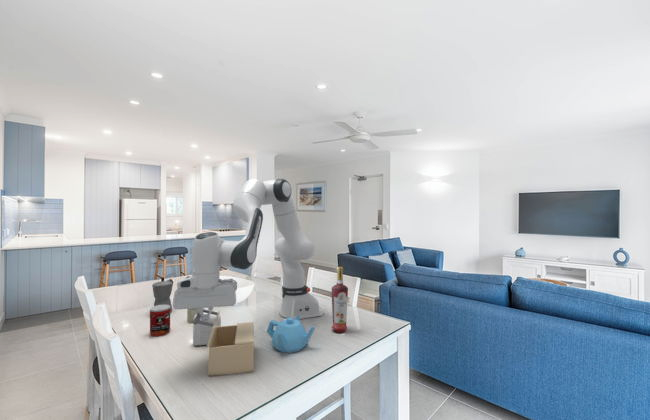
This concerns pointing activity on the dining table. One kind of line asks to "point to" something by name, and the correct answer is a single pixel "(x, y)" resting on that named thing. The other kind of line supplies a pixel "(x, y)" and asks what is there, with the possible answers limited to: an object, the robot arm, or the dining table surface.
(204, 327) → the photo printer
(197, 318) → the far flap
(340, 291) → the liquor
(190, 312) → the skincare box
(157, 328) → the canned food
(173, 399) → the dining table surface
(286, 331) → the teapot
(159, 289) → the coffeepot
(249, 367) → the carton
